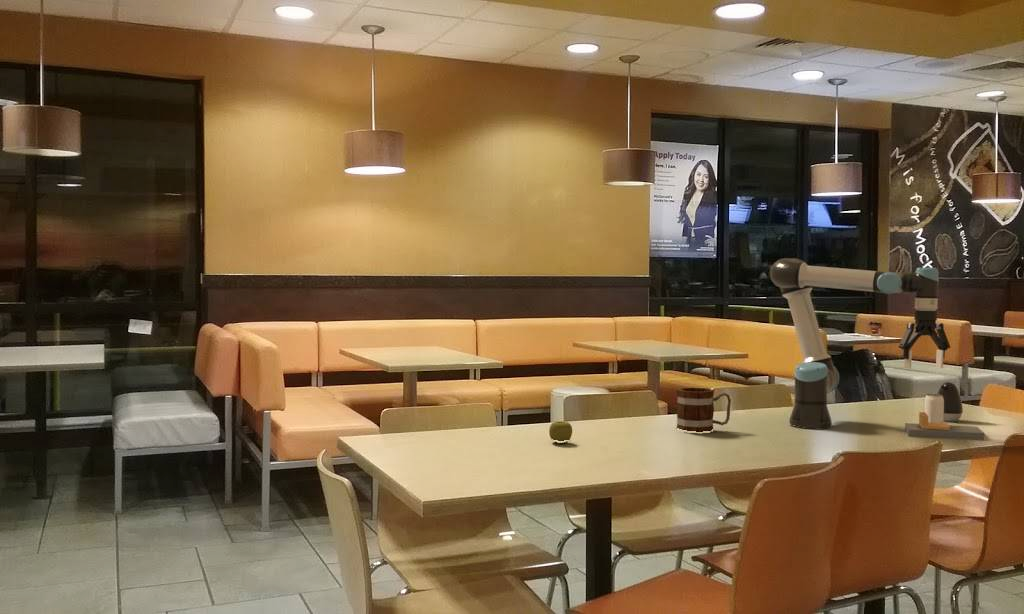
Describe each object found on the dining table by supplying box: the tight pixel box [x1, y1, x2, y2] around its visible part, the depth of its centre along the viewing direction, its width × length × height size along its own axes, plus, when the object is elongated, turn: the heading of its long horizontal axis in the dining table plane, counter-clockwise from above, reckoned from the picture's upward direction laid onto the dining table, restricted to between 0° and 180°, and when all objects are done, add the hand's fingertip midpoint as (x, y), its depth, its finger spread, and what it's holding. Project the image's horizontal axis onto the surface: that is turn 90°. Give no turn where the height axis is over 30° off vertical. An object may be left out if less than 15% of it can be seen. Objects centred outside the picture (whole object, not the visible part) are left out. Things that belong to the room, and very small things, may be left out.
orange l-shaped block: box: [918, 411, 950, 430], centre depth 325 cm, size 9×9×4 cm
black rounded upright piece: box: [936, 381, 964, 423], centre depth 356 cm, size 10×10×15 cm
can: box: [924, 393, 944, 423], centre depth 342 cm, size 6×6×12 cm
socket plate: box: [904, 422, 985, 441], centre depth 325 cm, size 24×14×2 cm, turn 72°
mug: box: [676, 387, 732, 432], centre depth 332 cm, size 20×14×15 cm
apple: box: [548, 421, 573, 441], centre depth 307 cm, size 8×8×7 cm
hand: (923, 367), depth 333 cm, fingers open, 13 cm apart
